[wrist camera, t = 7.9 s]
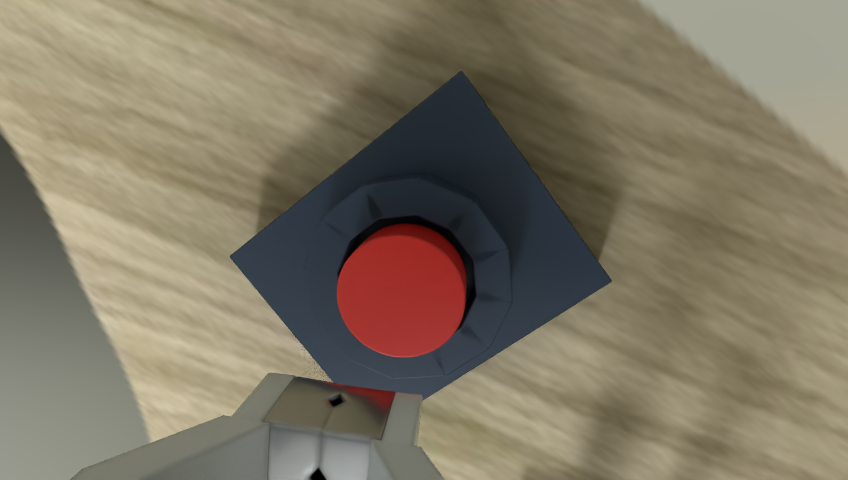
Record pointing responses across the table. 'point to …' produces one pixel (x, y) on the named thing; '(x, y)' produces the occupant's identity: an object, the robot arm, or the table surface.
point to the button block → (444, 213)
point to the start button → (403, 290)
